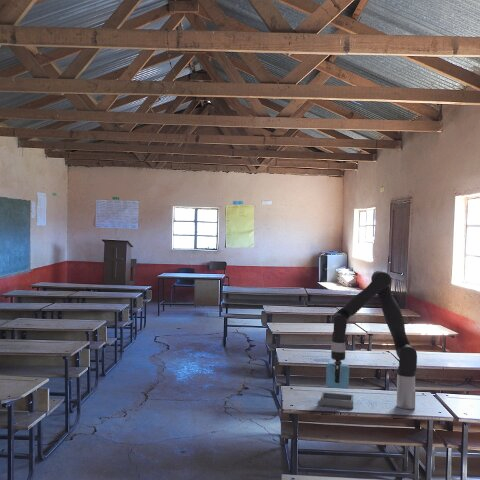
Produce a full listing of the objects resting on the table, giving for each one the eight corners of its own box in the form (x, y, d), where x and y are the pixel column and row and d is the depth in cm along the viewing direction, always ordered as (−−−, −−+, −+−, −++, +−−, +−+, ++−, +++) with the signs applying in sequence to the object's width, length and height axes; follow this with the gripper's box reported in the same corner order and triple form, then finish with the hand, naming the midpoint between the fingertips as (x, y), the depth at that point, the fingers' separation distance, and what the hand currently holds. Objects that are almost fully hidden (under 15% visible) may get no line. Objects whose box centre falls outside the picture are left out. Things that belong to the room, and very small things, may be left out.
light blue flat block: (348, 386, 273) (348, 364, 273) (348, 388, 268) (349, 366, 268) (325, 384, 275) (326, 362, 275) (326, 387, 270) (326, 364, 270)
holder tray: (353, 402, 275) (353, 394, 275) (352, 409, 264) (353, 401, 264) (322, 399, 280) (322, 392, 280) (320, 405, 268) (320, 398, 268)
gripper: (345, 353, 264) (344, 385, 264) (345, 348, 278) (344, 378, 278) (330, 352, 266) (329, 384, 266) (332, 347, 280) (331, 377, 280)
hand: (337, 381), depth 272 cm, fingers closed on light blue flat block, 4 cm apart
